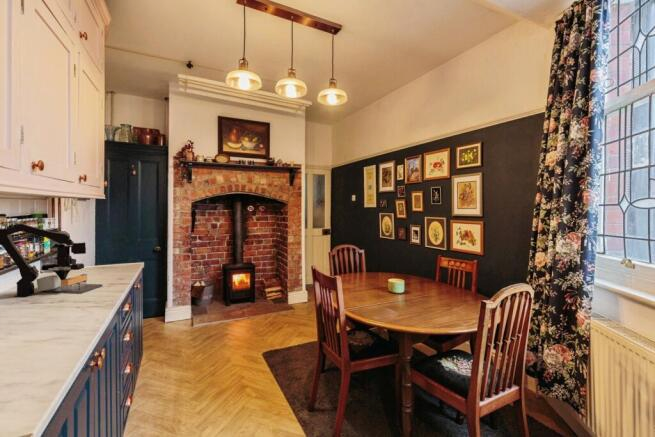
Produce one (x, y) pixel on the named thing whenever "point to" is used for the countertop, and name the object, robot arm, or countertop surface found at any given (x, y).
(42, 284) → the supplement box
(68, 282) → the swing arm
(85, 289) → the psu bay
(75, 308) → the countertop surface
